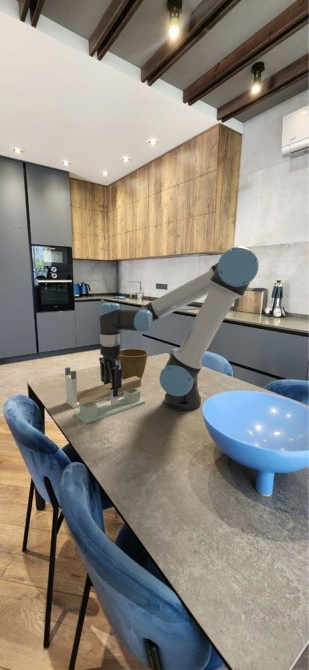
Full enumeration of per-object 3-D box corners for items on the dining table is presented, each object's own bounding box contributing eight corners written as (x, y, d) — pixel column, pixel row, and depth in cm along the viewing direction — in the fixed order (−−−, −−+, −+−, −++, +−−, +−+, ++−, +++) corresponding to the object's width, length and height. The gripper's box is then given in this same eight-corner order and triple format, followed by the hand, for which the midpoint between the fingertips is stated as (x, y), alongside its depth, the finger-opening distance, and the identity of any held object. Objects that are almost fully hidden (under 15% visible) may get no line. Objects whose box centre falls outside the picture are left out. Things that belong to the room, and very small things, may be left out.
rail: (141, 386, 118) (141, 378, 117) (81, 404, 101) (80, 395, 100) (135, 383, 120) (135, 376, 120) (76, 401, 103) (76, 392, 102)
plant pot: (146, 390, 130) (147, 356, 127) (114, 389, 131) (114, 356, 127) (148, 378, 145) (148, 348, 142) (119, 378, 145) (118, 348, 142)
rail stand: (121, 393, 126) (121, 361, 123) (73, 408, 112) (71, 372, 108) (113, 388, 131) (112, 357, 128) (66, 402, 117) (64, 367, 114)
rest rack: (145, 403, 117) (145, 391, 116) (85, 424, 100) (85, 411, 99) (132, 396, 124) (132, 385, 123) (74, 414, 107) (73, 402, 106)
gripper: (131, 347, 103) (131, 406, 108) (107, 339, 115) (108, 392, 120) (113, 350, 98) (114, 412, 103) (90, 341, 110) (92, 397, 115)
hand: (111, 401), depth 111 cm, fingers closed on rail, 3 cm apart
